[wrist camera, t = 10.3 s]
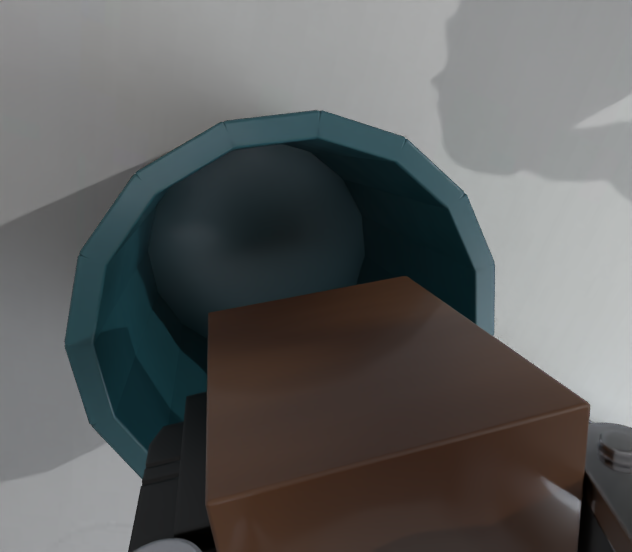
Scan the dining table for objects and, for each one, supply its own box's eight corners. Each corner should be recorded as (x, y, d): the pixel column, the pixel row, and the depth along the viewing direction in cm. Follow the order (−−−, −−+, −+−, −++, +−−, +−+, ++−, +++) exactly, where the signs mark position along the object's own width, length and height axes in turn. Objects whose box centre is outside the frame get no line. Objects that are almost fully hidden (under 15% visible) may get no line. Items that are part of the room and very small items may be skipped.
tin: (166, 377, 25) (133, 560, 14) (107, 143, 21) (-2, 146, 10) (380, 332, 27) (493, 461, 16) (363, 113, 23) (498, 89, 12)
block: (242, 482, 11) (269, 774, 6) (207, 311, 10) (204, 504, 5) (415, 438, 12) (569, 662, 7) (406, 274, 11) (593, 402, 5)
